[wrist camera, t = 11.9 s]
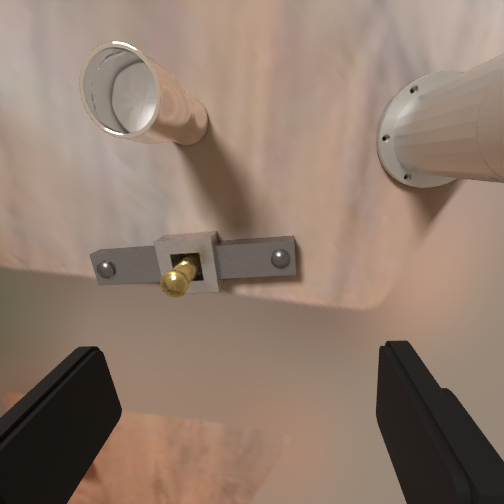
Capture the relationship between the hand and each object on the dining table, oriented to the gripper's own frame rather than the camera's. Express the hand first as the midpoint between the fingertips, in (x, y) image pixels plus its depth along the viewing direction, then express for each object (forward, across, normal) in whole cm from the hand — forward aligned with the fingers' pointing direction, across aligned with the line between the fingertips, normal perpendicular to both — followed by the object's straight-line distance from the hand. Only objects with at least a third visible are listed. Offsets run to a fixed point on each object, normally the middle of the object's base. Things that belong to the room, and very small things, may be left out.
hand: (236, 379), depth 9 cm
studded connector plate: (+30, +12, +6) cm, 33 cm away
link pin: (+30, +12, +6) cm, 33 cm away
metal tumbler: (+30, +10, -13) cm, 35 cm away
